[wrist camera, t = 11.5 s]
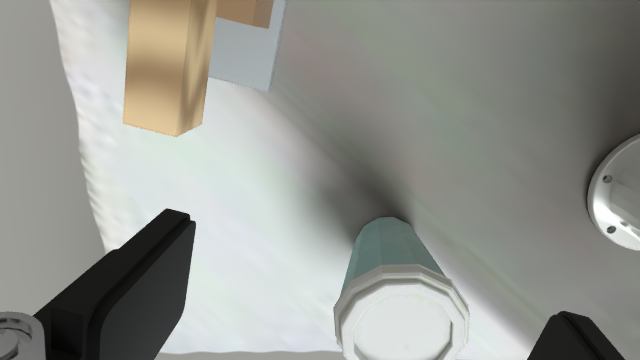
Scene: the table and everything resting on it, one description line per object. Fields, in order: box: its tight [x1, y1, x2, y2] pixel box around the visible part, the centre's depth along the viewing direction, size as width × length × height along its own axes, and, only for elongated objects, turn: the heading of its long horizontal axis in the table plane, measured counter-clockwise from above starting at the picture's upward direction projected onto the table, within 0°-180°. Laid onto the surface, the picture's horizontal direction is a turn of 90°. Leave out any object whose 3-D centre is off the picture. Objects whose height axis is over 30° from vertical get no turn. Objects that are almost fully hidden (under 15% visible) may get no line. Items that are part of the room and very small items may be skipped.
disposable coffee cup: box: [334, 217, 470, 360], centre depth 36 cm, size 11×11×15 cm
